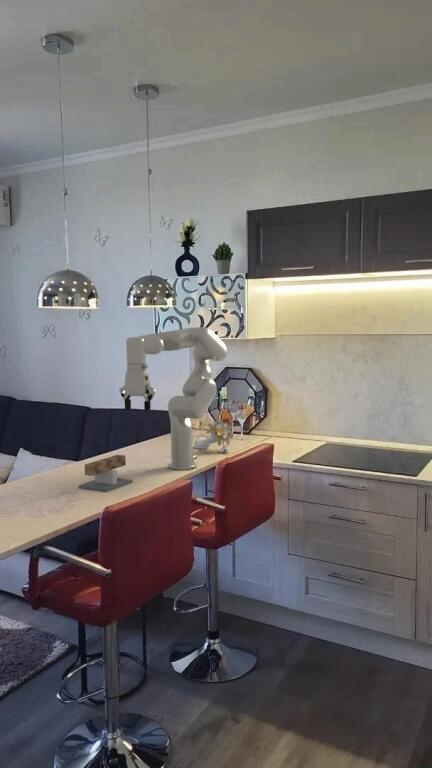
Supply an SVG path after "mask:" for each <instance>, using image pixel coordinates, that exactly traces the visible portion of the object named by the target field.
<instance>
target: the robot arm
mask: <svg viewBox="0 0 432 768" xmlns="http://www.w3.org/2000/svg"><path fill="white" fill-rule="evenodd" d="M125 343H126V344H125V349H126V372H125V377H124V385H123V386H122V387H120V388H119V389H118V391H119V393H120V396H121V397H122V398H123V399H122V400H123V401H124V410H126V411H128V410H131V409H132V403H131V402H132V401H131V397H142V398H143V399H144V402H143V403H144V405H143V409H144V412H148V411H151V401H152V399H153V398H154V397H155V394H156V389H155V388H154V387H151V380H150V375H149V371H147V369H148V367H149V366H148V365H147V363H146V362H147V361H146V359H147V357H146V355H150V356H151V355H159V354H160V353H162V352H170V351H179V350H182V349H183V350H184V349H189V348H193V347H194V348H193V351H192V355H193V359H194V368H193V370H192V371H191V373H190V375H189V376H188V378H186V381H185V382H184V384H183V386H182V389H181V390H182V394H183V395H175V396H173V397H171V398H170V399H169V400H168V405H167V411H168V415H169V421H170V447H171V448H170V449H171V451H170V453H171V454H170V455H171V462H170V463H168V464H167V466H168V469H171V470H176V471H186V470H192V468H193V469H196V468H197V463H196V462H194V461H195V460H197V459H198V454H194V443H193V441H194V440H193V436H194V434H193V430H194V429H193V424H192V422H191V419H192V420H199V419H201V418H202V417H203V416H205V414H206V412H207V410H208V409H209V408H210V406H211V404H212V402H213V401H214V400H215V398H216V395H217V384H216V382H215V381H214V380H213V379H212V378H211V377H212V371H213V370H212V368H211V364H210V362H220V361H223V360H225V359H226V357H227V355H228V349H227V346H226V344H225V343H224V342H223V341H222V340H221V339H220V337H218V335H216V333H214V332H213V331H212V330H211V329H210V328H208V327H205V326H203V327H199V326H196V327H193V326H192V327H185V328H182V329H180V328H179V329H174V330H169V331H164V332H158V333H149V334H144V335H138V336H130V337H127V338H126V341H125ZM195 467H196V468H195Z"/></svg>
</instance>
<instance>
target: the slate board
mask: <svg viewBox="0 0 432 768" xmlns="http://www.w3.org/2000/svg"><path fill="white" fill-rule="evenodd" d="M117 472H118V471H117V470H115V469H113V470H110V471H107V472H104V473H101V474H98V475H95V476H94V479H92V480H90V481H86V482H84V483H81V484H78V489H84V490H89V491H90V490H91V491H97V492H104V493H109V492H110V491H114V490H115V489H119V488H121V487H124V486H127V485H129V484H132V483H133V481H134V480H133V479H129V478H123V477H118V475H117V474H118V473H117Z"/></svg>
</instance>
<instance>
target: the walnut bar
mask: <svg viewBox="0 0 432 768" xmlns="http://www.w3.org/2000/svg"><path fill="white" fill-rule="evenodd" d="M126 461H127V460H126V455H125V454H115V455H112V456H108V457H105V458H102V459H98V460H95V461H92V462H89V463H85V464H84V476H90V477H95V475H98V474H101V473H104V472H107V471H110V470H115V469H118V468H121V467H124V466H126V463H127V462H126Z"/></svg>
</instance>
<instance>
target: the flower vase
mask: <svg viewBox="0 0 432 768" xmlns="http://www.w3.org/2000/svg"><path fill="white" fill-rule="evenodd" d="M214 420H215V422H214V424H212V423H209V422H208V425H207V426H208V428H209V429H207V430H206V432H205V434H210V436H209V437H207V438H206V437H204V436H203V437H202V436H199V437H197V438H196V439H195V440H194V443H193V449H195V448H208V449H210V448H209V447H212V444H215V443H217V445H218V446H219V447H220V446H222V444H223V446H222V447H221V448H220V449H219V450H218V451H217V453H221V452H227V451H233V449H232V448H229V447H228V446H230V442H231V439H232V438H233V436H234V435H233V432H232V429H233V426H232V425H229V422H225V421H224V420H223V419H222V418H219V419H218V418H216V417H214ZM225 425H226V426H225ZM225 443H226V446H225Z"/></svg>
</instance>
